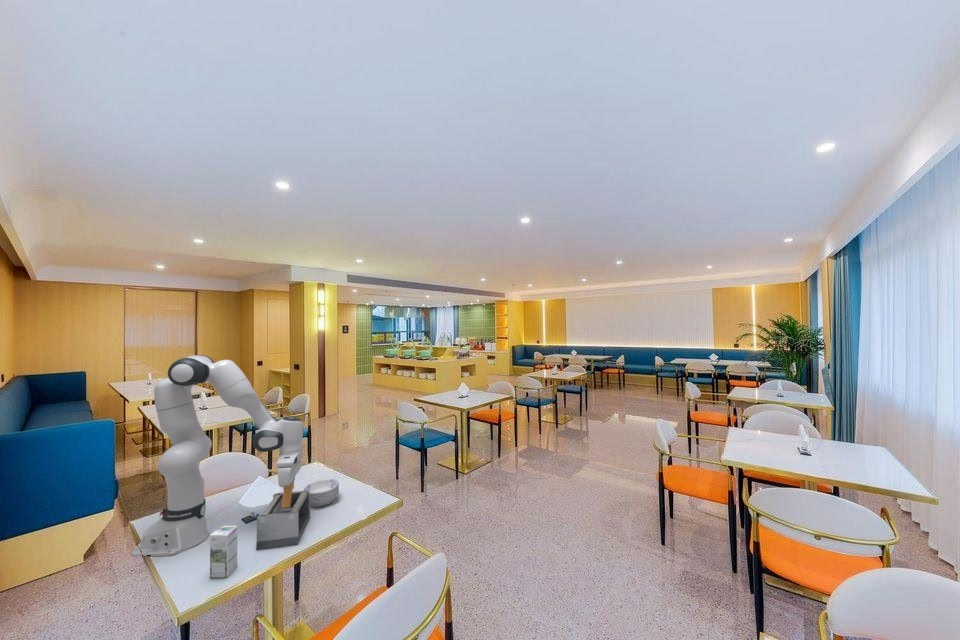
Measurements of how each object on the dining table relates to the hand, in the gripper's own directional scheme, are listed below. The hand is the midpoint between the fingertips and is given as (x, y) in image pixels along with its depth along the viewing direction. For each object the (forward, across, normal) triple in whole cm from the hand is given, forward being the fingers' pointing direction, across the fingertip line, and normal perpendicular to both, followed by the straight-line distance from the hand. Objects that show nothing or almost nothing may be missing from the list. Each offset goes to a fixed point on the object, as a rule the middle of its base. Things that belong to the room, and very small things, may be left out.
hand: (290, 488), depth 152 cm
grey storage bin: (+15, +8, 0) cm, 16 cm away
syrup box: (+15, +29, -13) cm, 35 cm away
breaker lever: (+6, +8, 0) cm, 9 cm away
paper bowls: (+15, -16, +9) cm, 24 cm away
